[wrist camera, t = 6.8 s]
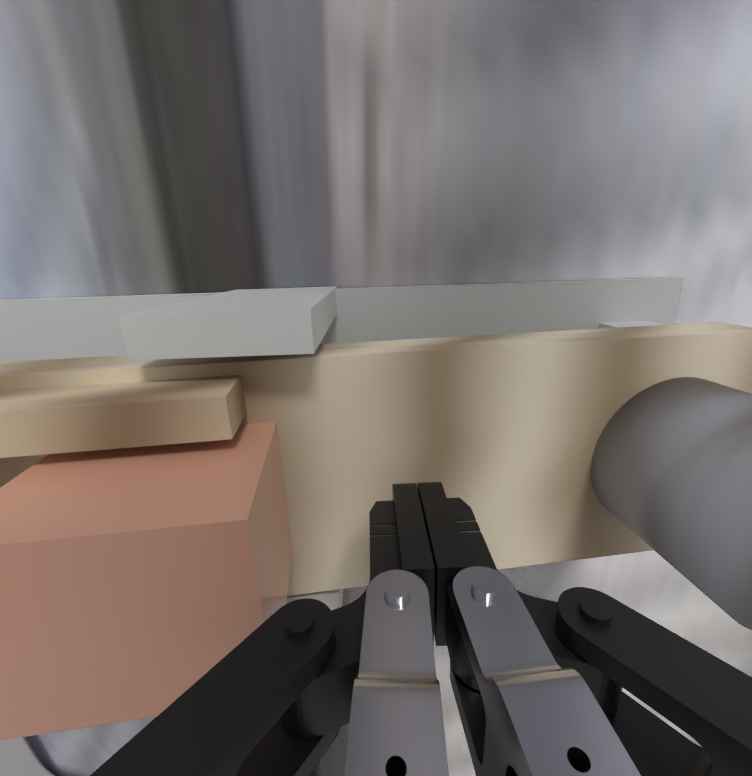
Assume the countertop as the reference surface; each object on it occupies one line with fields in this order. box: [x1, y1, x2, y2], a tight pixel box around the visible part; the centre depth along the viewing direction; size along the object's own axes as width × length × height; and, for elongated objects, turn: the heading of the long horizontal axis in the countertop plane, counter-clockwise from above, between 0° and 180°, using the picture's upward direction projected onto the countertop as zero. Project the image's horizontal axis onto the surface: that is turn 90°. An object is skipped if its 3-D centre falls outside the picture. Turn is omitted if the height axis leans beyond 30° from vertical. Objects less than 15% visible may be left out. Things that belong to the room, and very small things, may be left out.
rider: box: [0, 422, 292, 740], centre depth 10 cm, size 6×5×5 cm
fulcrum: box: [0, 277, 683, 610], centre depth 17 cm, size 38×12×10 cm, turn 92°
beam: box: [0, 322, 752, 630], centre depth 12 cm, size 36×9×7 cm, turn 92°
